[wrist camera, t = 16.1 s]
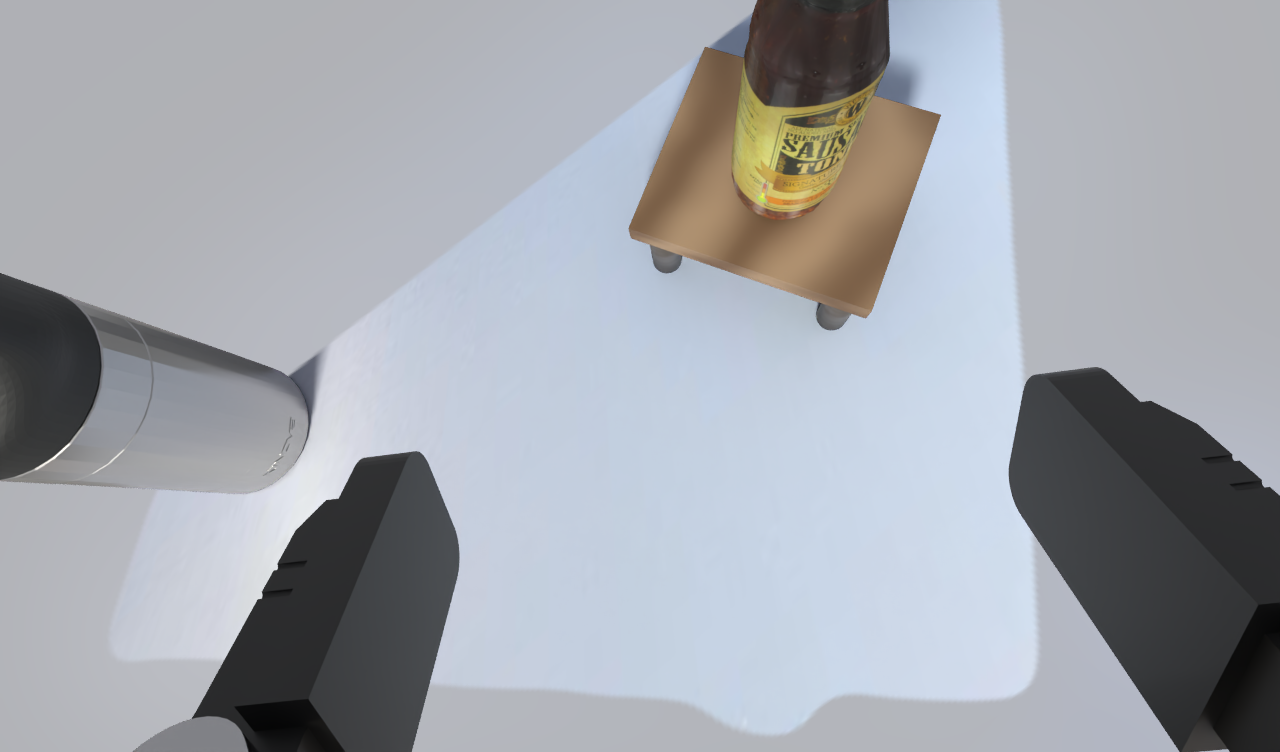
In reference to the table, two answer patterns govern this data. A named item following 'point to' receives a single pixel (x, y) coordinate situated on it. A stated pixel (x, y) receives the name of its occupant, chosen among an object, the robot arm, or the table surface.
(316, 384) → the table surface
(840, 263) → the peg shelf
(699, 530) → the table surface
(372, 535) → the robot arm
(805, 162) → the sauce bottle
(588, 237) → the table surface
